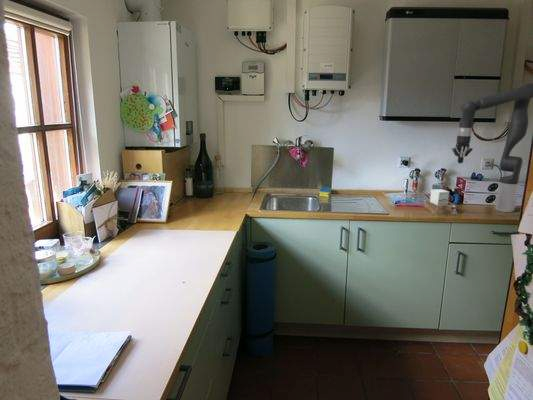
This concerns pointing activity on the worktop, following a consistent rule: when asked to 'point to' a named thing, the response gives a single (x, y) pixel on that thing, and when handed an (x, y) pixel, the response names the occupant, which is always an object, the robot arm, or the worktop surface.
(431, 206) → the keeper
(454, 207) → the latch bar
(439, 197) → the supplement box
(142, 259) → the worktop surface
